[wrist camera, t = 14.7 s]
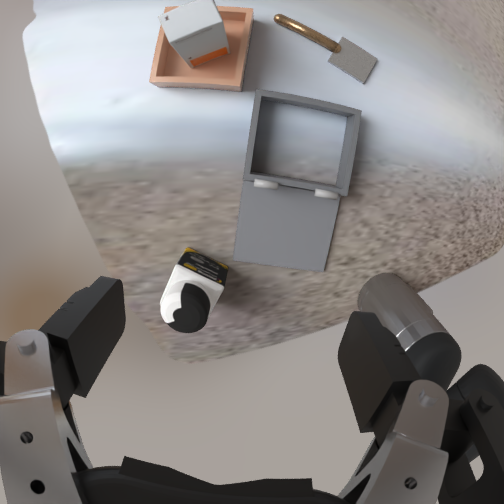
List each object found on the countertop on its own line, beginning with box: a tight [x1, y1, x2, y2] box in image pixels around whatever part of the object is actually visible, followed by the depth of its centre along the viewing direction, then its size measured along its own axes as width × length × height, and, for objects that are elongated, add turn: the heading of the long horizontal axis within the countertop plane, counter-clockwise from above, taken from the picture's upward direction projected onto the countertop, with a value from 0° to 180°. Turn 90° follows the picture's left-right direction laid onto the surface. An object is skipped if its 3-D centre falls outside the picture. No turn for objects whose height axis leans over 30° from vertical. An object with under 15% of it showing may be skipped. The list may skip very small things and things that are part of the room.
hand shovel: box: [274, 14, 377, 84], centre depth 32 cm, size 16×5×2 cm, turn 62°
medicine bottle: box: [160, 248, 228, 333], centre depth 40 cm, size 7×7×12 cm
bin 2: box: [233, 89, 362, 272], centre depth 39 cm, size 14×24×4 cm, turn 172°
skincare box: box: [158, 0, 230, 68], centre depth 27 cm, size 6×4×12 cm
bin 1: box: [149, 6, 254, 92], centre depth 32 cm, size 12×12×4 cm
